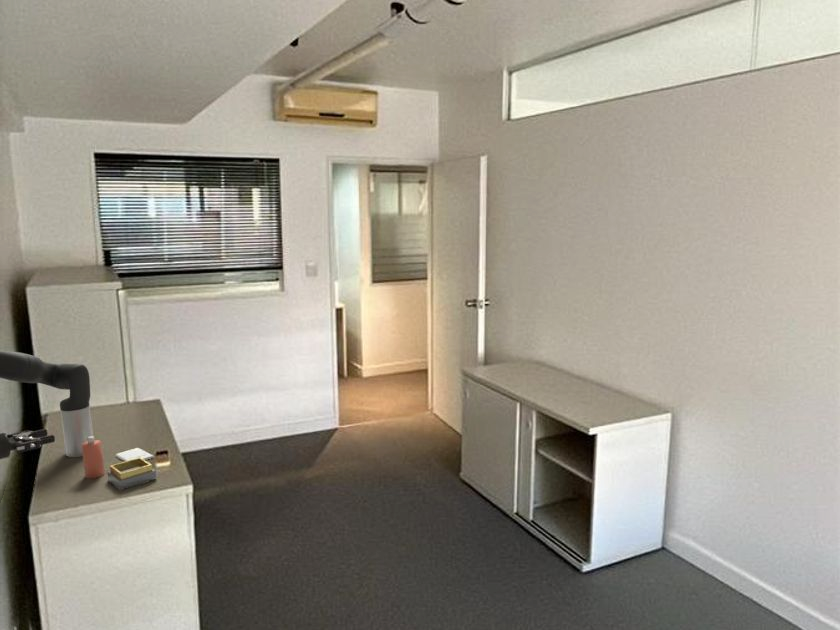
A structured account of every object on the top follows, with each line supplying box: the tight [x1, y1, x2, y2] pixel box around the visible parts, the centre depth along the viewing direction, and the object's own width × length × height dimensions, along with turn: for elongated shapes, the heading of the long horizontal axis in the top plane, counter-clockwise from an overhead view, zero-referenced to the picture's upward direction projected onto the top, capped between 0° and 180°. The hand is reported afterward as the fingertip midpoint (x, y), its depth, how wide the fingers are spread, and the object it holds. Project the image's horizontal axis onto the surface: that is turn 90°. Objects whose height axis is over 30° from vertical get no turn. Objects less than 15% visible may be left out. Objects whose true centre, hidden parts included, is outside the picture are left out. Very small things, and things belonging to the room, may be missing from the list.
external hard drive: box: [115, 447, 155, 462], centre depth 217 cm, size 2×8×12 cm
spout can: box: [82, 435, 105, 479], centre depth 201 cm, size 6×6×13 cm
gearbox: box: [107, 457, 157, 491], centre depth 197 cm, size 11×11×5 cm
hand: (50, 435), depth 192 cm, fingers open, 8 cm apart
